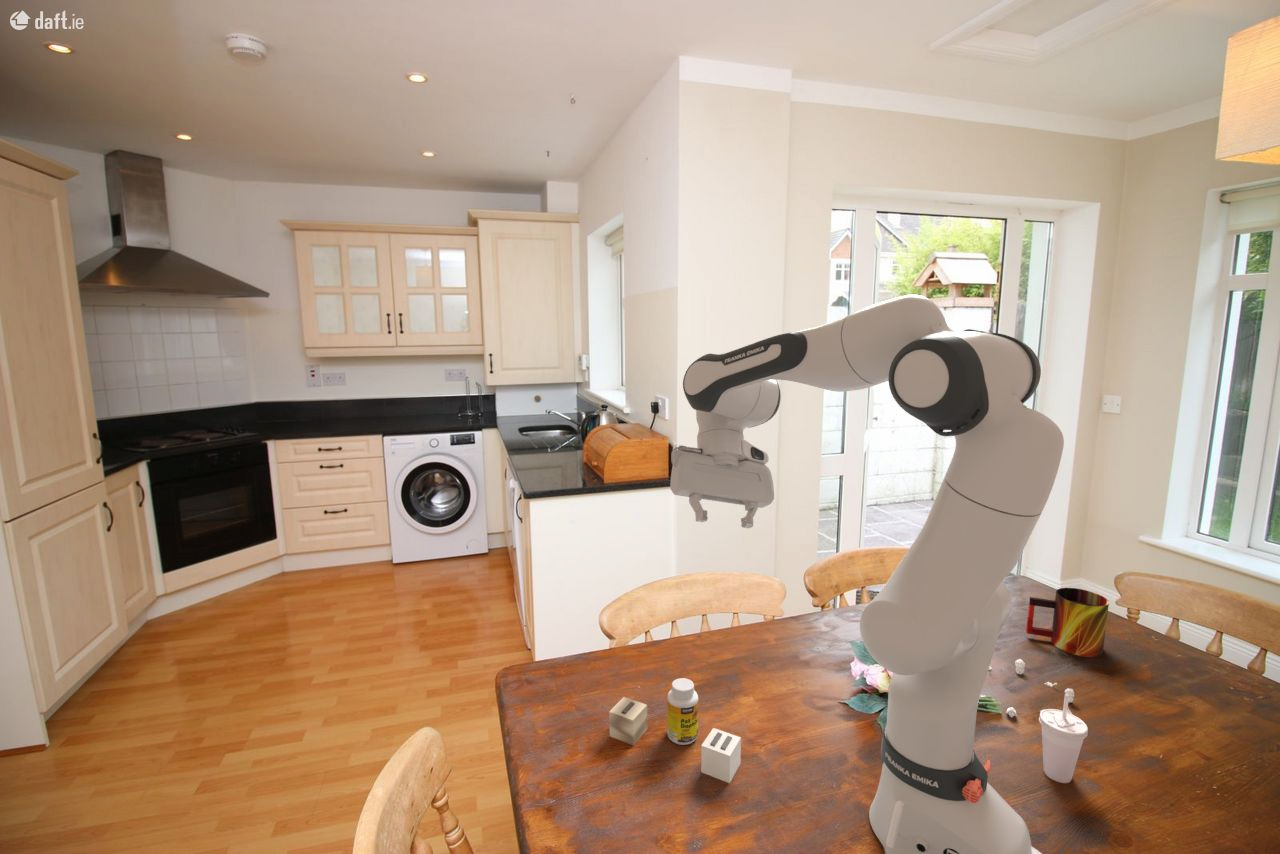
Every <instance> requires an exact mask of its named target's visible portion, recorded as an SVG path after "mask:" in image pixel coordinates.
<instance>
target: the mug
mask: <svg viewBox="0 0 1280 854" xmlns="http://www.w3.org/2000/svg"><path fill="white" fill-rule="evenodd" d="M1054 597H1055V598H1054V599H1055V600H1053V599H1045V598H1039V597H1031V596H1030V597H1029V602H1028V603H1029V604H1028V612H1027V617H1026V619H1027V620H1026V628H1025V633H1026V634H1027V635H1033V636H1041V637H1046V638H1050V641H1051V643H1052V644H1053V645H1054V647H1056V648H1058V649H1059V650H1061V651H1063V652H1066V653H1068V654H1071V655H1075V656H1078V657H1084V658H1098V657H1101V656H1103V654H1104V646H1105V638H1106V632H1107V631H1106V629H1107V621H1108V615H1109V605H1110V601H1109V600H1108V598H1106V597H1104V596H1103V595H1101V594H1099V593H1097V592H1093V591H1090V590H1086V589H1082V588H1075V587H1061V588H1058V589H1056V590H1055V596H1054ZM1036 607H1039V608H1041V607H1042V608H1048V609H1053V616H1052V617H1053V618H1052V627H1051V629H1049V628H1043V627H1038V626H1037V627H1036V626H1034V616H1035V608H1036Z"/></svg>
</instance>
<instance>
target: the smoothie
mask: <svg viewBox="0 0 1280 854" xmlns="http://www.w3.org/2000/svg"><path fill="white" fill-rule="evenodd" d="M1068 700H1069V695H1068V694H1066V693H1064V700H1063V708H1062V710H1061V709H1056V708H1055V709H1054V708H1046V709H1042V710H1043V711H1042V710H1040V711H1041V712H1040V711H1039V712H1040V713H1039V717H1038V721H1039V723H1040V725H1041V726H1040V727H1041V741H1042V743H1041V744H1042V745H1041V746H1042V762H1043V772H1044V774H1045V776H1047V777H1048V778H1049V779H1051V780H1053V781H1055V782H1057V783H1061V784H1068V783H1070V782H1072V779H1073V775H1074V773H1075V769H1076V766H1077V762H1078V758H1079V755H1080V752H1081V749H1082V746H1083V743H1084V739H1086V738H1087V737H1088V730H1089V728H1088V726H1087V724H1086V723H1085V722H1084V720H1082V719H1081V718H1080V717H1078V716H1076V715H1074V714H1073V713H1072V714H1070V713H1068V712H1067V710H1068V708H1069V702H1068Z"/></svg>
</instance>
